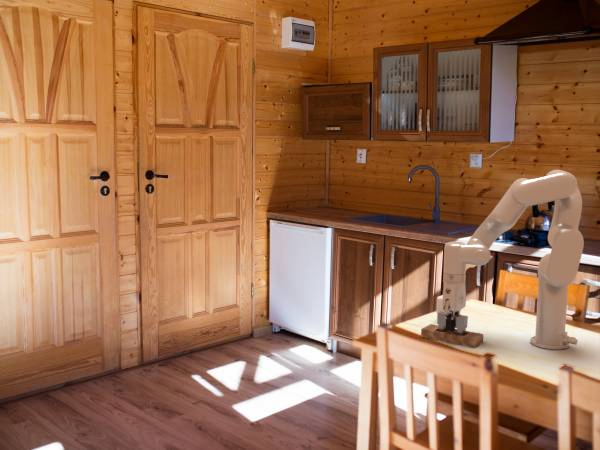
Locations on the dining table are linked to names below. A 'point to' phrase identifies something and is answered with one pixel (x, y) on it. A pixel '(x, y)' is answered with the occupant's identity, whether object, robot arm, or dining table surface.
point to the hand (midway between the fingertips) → (452, 328)
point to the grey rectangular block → (459, 323)
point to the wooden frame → (452, 336)
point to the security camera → (440, 304)
